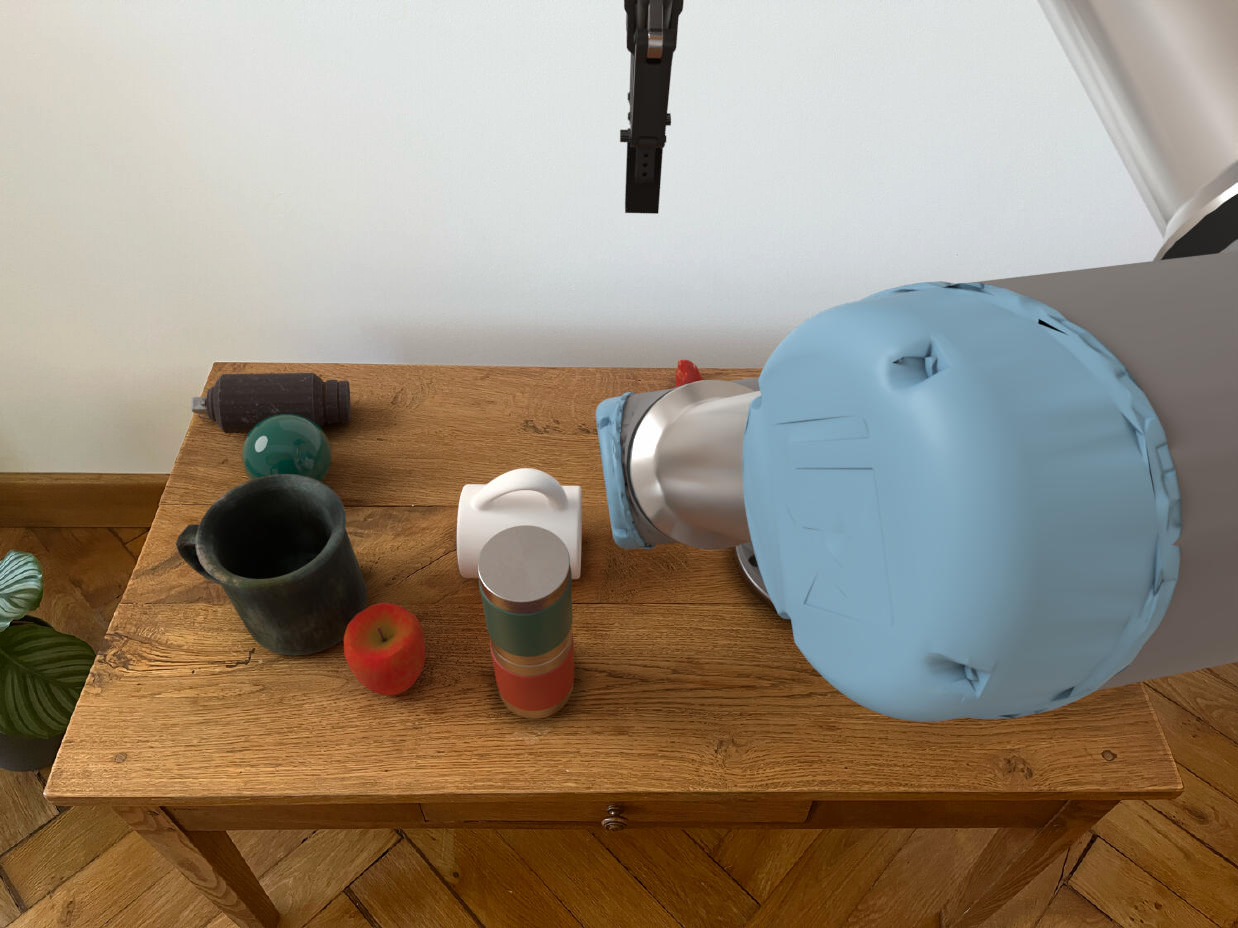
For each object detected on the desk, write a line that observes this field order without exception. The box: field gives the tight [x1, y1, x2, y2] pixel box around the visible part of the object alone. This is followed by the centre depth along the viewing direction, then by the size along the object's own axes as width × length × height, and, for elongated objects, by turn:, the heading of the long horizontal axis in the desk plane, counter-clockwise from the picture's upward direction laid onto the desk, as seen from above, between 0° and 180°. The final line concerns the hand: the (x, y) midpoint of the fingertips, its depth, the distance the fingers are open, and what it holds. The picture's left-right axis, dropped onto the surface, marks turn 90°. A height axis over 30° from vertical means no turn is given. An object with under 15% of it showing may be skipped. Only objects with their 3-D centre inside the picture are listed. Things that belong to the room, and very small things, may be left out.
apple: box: [343, 601, 427, 696], centre depth 70 cm, size 6×6×8 cm
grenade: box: [190, 372, 352, 435], centre depth 88 cm, size 8×6×15 cm
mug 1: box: [175, 474, 369, 656], centre depth 72 cm, size 11×15×12 cm
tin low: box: [489, 631, 575, 720], centre depth 69 cm, size 6×6×9 cm
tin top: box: [478, 525, 574, 666], centre depth 62 cm, size 6×6×9 cm
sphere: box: [241, 414, 333, 483], centre depth 82 cm, size 8×8×8 cm
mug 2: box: [456, 467, 583, 580], centre depth 76 cm, size 8×10×12 cm
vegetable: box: [673, 359, 704, 388], centre depth 91 cm, size 4×5×12 cm
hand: (641, 207), depth 71 cm, fingers closed
